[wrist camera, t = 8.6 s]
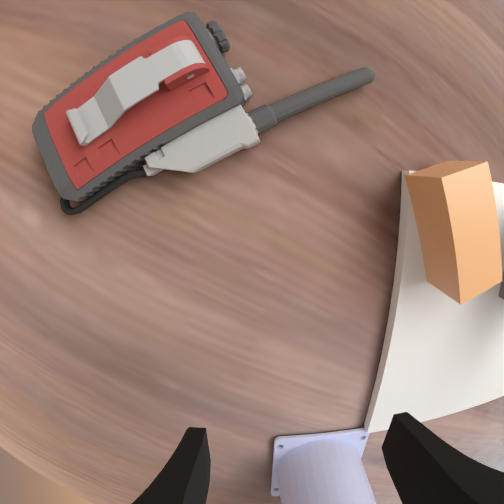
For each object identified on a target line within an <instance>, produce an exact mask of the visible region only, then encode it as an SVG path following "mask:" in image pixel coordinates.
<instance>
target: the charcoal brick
mask: <svg viewBox="0 0 504 504" xmlns="http://www.w3.org/2000/svg"><path fill="white" fill-rule="evenodd" d="M499 297H500V298H502V299H504V271H503V276H502V281H501V286H500V291H499Z"/></svg>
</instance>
